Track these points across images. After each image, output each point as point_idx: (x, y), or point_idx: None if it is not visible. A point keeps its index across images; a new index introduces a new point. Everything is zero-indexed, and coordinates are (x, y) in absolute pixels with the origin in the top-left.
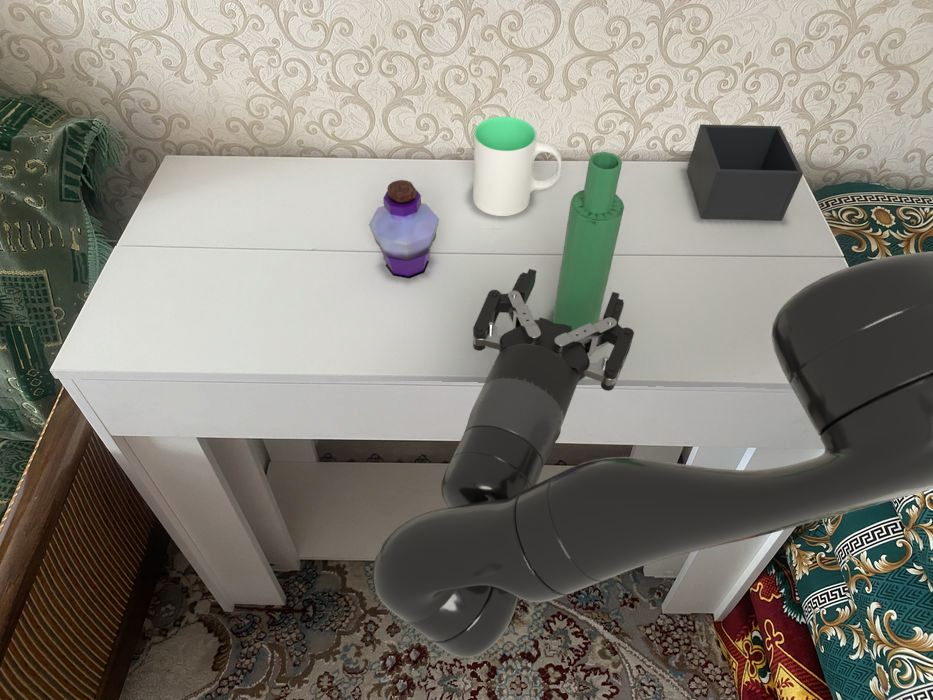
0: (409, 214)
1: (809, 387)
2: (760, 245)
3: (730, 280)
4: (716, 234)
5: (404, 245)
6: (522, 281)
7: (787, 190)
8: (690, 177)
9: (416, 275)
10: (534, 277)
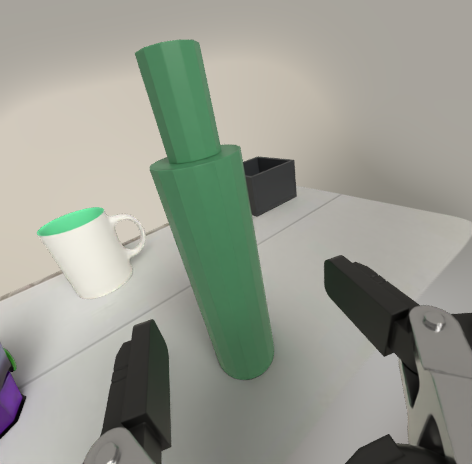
0: None
1: None
2: (302, 209)
3: (313, 232)
4: (274, 217)
5: None
6: (128, 370)
7: (291, 174)
8: None
9: (3, 435)
10: (157, 336)
